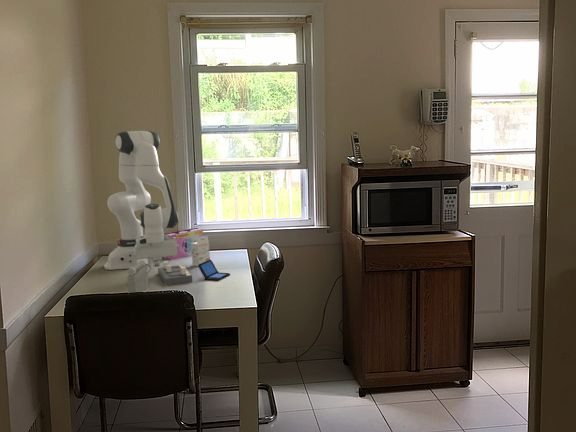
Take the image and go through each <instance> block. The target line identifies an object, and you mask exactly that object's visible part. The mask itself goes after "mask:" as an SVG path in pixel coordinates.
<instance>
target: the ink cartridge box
mask: <svg viewBox="0 0 576 432" xmlns="http://www.w3.org/2000/svg"><path fill="white" fill-rule="evenodd" d="M202 238H203V239H204V240H201V239H202ZM191 252H192V255H191V262H192V266H196V267H198V265H199V264H201V263H203V262H206V261H208V260H211V256H210V240H209V236H208V235H203V237H199V238H197V242H194V243H191Z"/></svg>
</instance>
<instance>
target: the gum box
mask: <svg viewBox="0 0 576 432" xmlns="http://www.w3.org/2000/svg"><path fill="white" fill-rule="evenodd" d="M203 236H204V229H203V228H201V229H200V228H198V227H194V228H189V229H188V228H187V229H182V230H177V231H172V232H171V231H170V232H166V233H165V232H164V237H175V238H176V239H177V244H176V248H177V254H176V255H175V256H166V257H163V258H164V259H167V258H168V260H171V259H172V260H175V259H180V258H185V257H190V256H192V252H191V243H194V242H197V238H199V237H203ZM175 238H173V239H175ZM201 240H204V239H203V238H202V239H201Z"/></svg>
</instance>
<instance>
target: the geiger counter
mask: <svg viewBox="0 0 576 432" xmlns="http://www.w3.org/2000/svg"><path fill="white" fill-rule="evenodd" d="M144 264H145V262H144V261H143V260H141V261H140V262H138V263H137V264H136V265H134V267H131V268H128V270H127V277H126V278H127V289H128V290H127V291H128V293H129V292H143V291H146V290H147V289H148V288H149V289H150V284H149V273H150V272H151V271H152V266H151V265H149V263H148V264H145V265H144ZM148 267H149V268H150V269H149V270H148Z"/></svg>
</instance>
